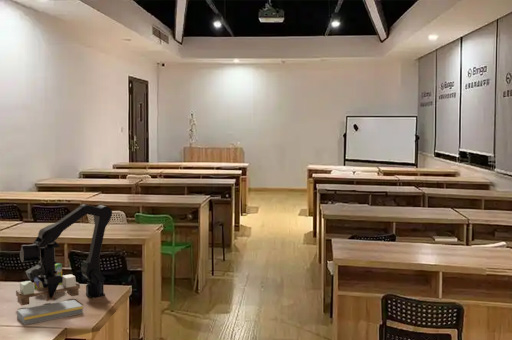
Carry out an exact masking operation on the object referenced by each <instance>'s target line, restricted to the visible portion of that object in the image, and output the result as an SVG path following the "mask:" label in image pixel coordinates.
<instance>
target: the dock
mask: <svg viewBox="0 0 512 340" xmlns="http://www.w3.org/2000/svg"><path fill="white" fill-rule="evenodd" d="M83 309H84V306H83V305H82V304H81V303H80V302H78V301H77V300H76V299H69V300H65V301H63V300H62V301H58V302H53V303H48V304H43V305H37V306H36V305H35V306H33V307H27V308H26V307H25V308H21V309H17V310H16V318H17V319H18V320H19V321H20V322H21V324H22V325H24V326H26V325H30V324H31V325H32V324H37V323H42V322H46V321H51V320H57V319H61V318H66V317H71V316H76V315H80V314H83V313H84V311H83Z"/></svg>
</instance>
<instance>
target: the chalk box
mask: <svg viewBox="0 0 512 340" xmlns="http://www.w3.org/2000/svg"><path fill="white" fill-rule="evenodd" d="M55 270H56V271H57V273H56V274H59V275H60V276H61V277H62V276H63V264H62V263H57V264H55ZM38 277H39V276H38ZM33 283H34V289H39V288H43V286H42V283H41V281H40V280H39V279H38V278H37V277H36V278H34V279H33ZM59 285H62V282H61V283H59Z"/></svg>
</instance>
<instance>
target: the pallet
mask: <svg viewBox="0 0 512 340" xmlns="http://www.w3.org/2000/svg"><path fill="white" fill-rule="evenodd" d="M80 288H81V286H80V283H79V282H77V281H76V286H73V287H67V288H66V287H65V286H63V285H58V287H57V289H56V291H55V293H63V292H66V294H68V295H69V296H70V297H76V296H79V295H80V293H79V292H80V291H79V289H80ZM55 293H54V295H53V297H52V298H50V297H49V292H48V287H45V288H39V289H34V293H32V294H27V295H23V294H22V293H21V292H20V290H18V289H16V290H15V296H16V297H17V303H18V304H19V305H20V306H27V305H30V298H33V297H39V296H42V298H43V299H45V300H46V301H47V302H48V301H49V302H50V301H54V300H55ZM55 301H56V300H55Z"/></svg>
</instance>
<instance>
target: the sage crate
mask: <svg viewBox="0 0 512 340" xmlns="http://www.w3.org/2000/svg"><path fill="white" fill-rule="evenodd" d="M19 291H20V292H21V293H22V294H23V295H27V294H32V293H34V282H32V280H25V281H20V282H19Z"/></svg>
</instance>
